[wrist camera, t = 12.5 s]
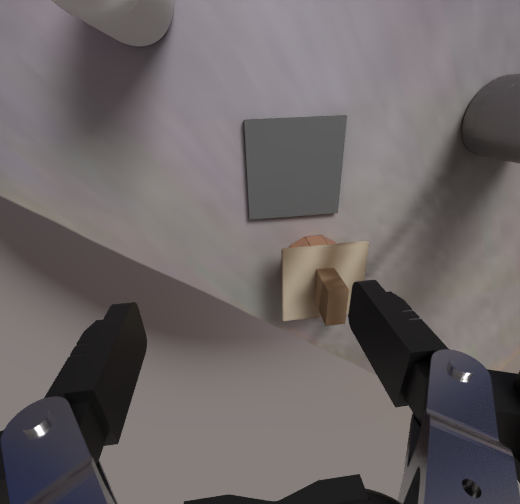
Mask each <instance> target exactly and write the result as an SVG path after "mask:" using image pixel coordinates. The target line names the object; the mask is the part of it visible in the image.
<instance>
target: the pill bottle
mask: <svg viewBox="0 0 520 504" xmlns="http://www.w3.org/2000/svg"><path fill="white" fill-rule="evenodd" d="M52 1H53V2H54V3H55V4H57V5H58V6H59V7H61V8H62V9H63V10H65V11H66V12H68V13H70V14H71V15H73V16H75V17H76V18H78V19H80V20H82V21H84V22H85V23H87V24H89V25H91V26H93V27H94V28H96V29H98V30H100V31H101V32H103V33H105V34H107V35H109V36H110V37H112V38H114V39H116V40H117V41H119V42H121V43H124V44H127V45H131V46H148V45H151V44H153V43H155V42H157V41H158V40H160V39H161V38H162V37H163V36H164V34H165V33H166V32H167V30H168V28H169V26H170V24H171V21H172V18H173V12H174V0H52Z"/></svg>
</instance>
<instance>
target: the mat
mask: <svg viewBox="0 0 520 504" xmlns="http://www.w3.org/2000/svg"><path fill="white" fill-rule="evenodd" d="M346 120H347V116H346V115H341V116H319V117H296V118H274V119H251V120H244V132H245V150H246V169H247V187H248V205H249V219H250V220H252V219H265V218H279V217H292V216H306V215H319V214H332V213H338V204H339V194H340V183H341V173H342V162H343V151H344V141H345V130H346Z"/></svg>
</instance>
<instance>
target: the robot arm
mask: <svg viewBox="0 0 520 504" xmlns="http://www.w3.org/2000/svg"><path fill="white" fill-rule="evenodd" d="M462 136H463V140H464V143H465V145H466V146H467V148H468V149H469V150H470V151H471V152H473V153H475V154H478V155H483V156H487V157H492V158H497V159H501V160H505V161H510V162H515V163H520V74H514V75H506V76H502V77H499V78H497V79H495V80H493V81H491V82H490V83H489V84H487V85H486V86H485V87H483V88H482V89H481V90H480V91H479V92H478V93H477V95H476V96H475V97H474V99H473V100H472V101H471V103H470V105H469V107H468V109H467V111H466V114H465V117H464V120H463V125H462ZM348 318H349V324H350V327H351V330H352V332H353V333H354V335H355V337H356V339H357V340H358V342H359V344H360V346H361V348H362V349H363V351H364V353H365V355H366V356H367V358H368V360H369V362H370V363H371V365H372V367H373V369H374V370H375V372H376V374H377V376H378V378H379V379H380V381H381V383H382V384H383V386H384V388H385V390H386V392H387V393H388V395H389V397H390V399H391V400H392V402H393V404H394V405H395V407H400V406H408V405H409V407H410V408H411V410H412V412H413V414H412V418H411V423H410V431H409V438H408V445H407V453H406V460H405V467H404V474H403V479H402V484H401V488H400V492H399V497H398V501H397V500H395V499H393V498H391V497H389V496H387V495H385V494H382V493H380V492H376V491H373V490H370V489H365V487H364V485H363V482H362V479H361V477H360V474H357V475H351V476H344V477H338V478H331V479H325V480H318V481H316V482H314V483H313V484H310V485H309V486H307V487H305V488H303V489H301V490H299V491H297V492H295V493H293V494H291V495H289V496H287V497H285V498H283V499H281V500H279V501H265V500H260V499H253V498H247V497H241V496H235V495H222V496H216V497H210V498H203V499H197V500H190V501H184V504H520V494H519V488H518V482H517V480H518V481H519V483H520V372H519V373H518V374H515V373H508V372H501V371H494V370H488V369H486V368H485V367H484V366H483V365H482V364H481V363H480V362H479V361H477V360H476V359H475V358H473V357H471V356H469V355H467V354H465V353H462V352H460V351H456V350H450V349H448V348H447V347H446V346H445V344H444V343H443V342H442V341H441V340H440V339H439V338H438V337H437V336H436V335H435V334H434V332H433V331H432V330H431V329H430V328H429V327H428V326H427V325H426V324H425V323H424V322H423V320H422V319H420V318H419V316H418V315H417V314H416V313H415V312H414V311H412V308H411V307H410V306H409V305H408V304H407V303H406V302H405V301H404V300H403V299H402V298H400V297H398V296H397V295H395V294H394V293H392V292H386V291H385V290H384V289H383V288H382V287H381V286H380V284H379V283H378V282H377V281H376V280H367V281H357V282H354V283H353V285H352V291H351V298H350V306H349V313H348ZM146 348H147V338H146V333H145V329H144V326H143V322H142V319H141V315H140V312H139V308H138V306H137V304H136V303H135V302H132V303H122V304H113V305H111V306H110V308H109V310H108V312H107V314H106V315H105V317H104V319H103V320H96V321H95V322H94V323H93V324H92V325H91V326H90V327H89V328H87V329H86V330H85V331H84V332H83V334H82V336H81V337H80V339H79V341H78V342H77V346H76V347H74V349H73V351H72V353H71V354H70V357H68V359H67V361H66V362H65V364H64V366H63V368H62V369H61V371H60V372H59V374H58V376H57V378H56V379H55V381H54V382H53V384H52V386H51V387H50V389H49V391H48V393H47V394H46V396H45V397H44V399H41V400H38V401H36V402H34V403H32V404H30V405H29V406H27V407H26V408H24V409H23V410H21V411H20V412H19V413H18V414H17V415H16V416H15V417H14V418H13V419H12V420H11V421H10V422H9V423H8V425H7V426H6V428H5V429H4V430H3V431H0V504H118V503H117V500H116V498H115V496H114V493H113V491H112V489H111V486H110V484H109V482H108V479H107V477H106V475H105V472H104V470H103V468H102V465H101V463H100V461H99V458H100V455H101V452H102V449H103V446H106V445H114V444H118V442H119V439H120V436H121V432H122V429H123V426H124V423H125V419H126V416H127V412H128V409H129V406H130V403H131V399H132V396H133V393H134V390H135V386H136V383H137V380H138V376H139V373H140V370H141V366H142V363H143V360H144V356H145V353H146Z"/></svg>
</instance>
